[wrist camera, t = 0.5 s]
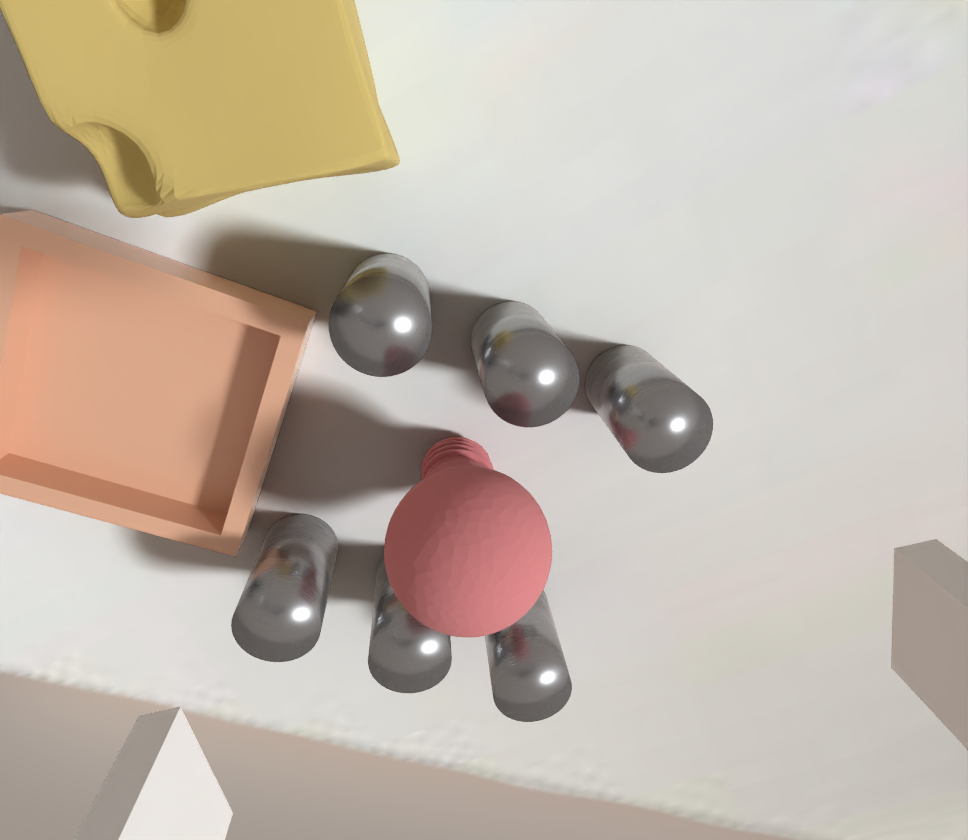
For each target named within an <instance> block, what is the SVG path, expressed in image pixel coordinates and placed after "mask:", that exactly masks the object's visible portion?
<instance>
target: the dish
mask: <svg viewBox="0 0 968 840" xmlns="http://www.w3.org/2000/svg"><path fill="white" fill-rule="evenodd" d="M316 313H317V311H314V310H311V309H309V308H306V307H303V306H300V305H297V304H295V303H292V302H289V301H286V300H283V299H281V298H278V297H275V296H272V295H269V294H267V293H264V292H261V291H258V290H256V289H253V288H250V287H247V286H244V285H242V284H239V283H236V282H233V281H230V280H228V279H225V278H222V277H219V276H216V275H214V274H211V273H208V272H205V271H202V270H200V269H197V268H194V267H191V266H188V265H186V264H183V263H180V262H177V261H174V260H172V259H169V258H166V257H163V256H160V255H158V254H155V253H152V252H149V251H146V250H144V249H141V248H138V247H135V246H132V245H130V244H127V243H124V242H121V241H119V240H116V239H113V238H110V237H107V236H105V235H102V234H99V233H96V232H93V231H91V230H88V229H85V228H82V227H79V226H77V225H74V224H71V223H68V222H65V221H63V220H60V219H57V218H54V217H51V216H49V215H46V214H43V213H40V212H37V211H35V210H27V211H19V212H10V213H1V214H0V493H1V494H4V495H8V496H12V497H16V498H19V499H23V500H27V501H30V502H34V503H38V504H42V505H45V506H49V507H53V508H56V509H60V510H64V511H68V512H71V513H75V514H79V515H82V516H86V517H90V518H94V519H97V520H101V521H105V522H108V523H112V524H116V525H120V526H123V527H127V528H131V529H134V530H138V531H142V532H146V533H149V534H153V535H157V536H160V537H164V538H168V539H172V540H175V541H179V542H183V543H186V544H190V545H194V546H198V547H201V548H205V549H209V550H212V551H216V552H220V553H224V554H227V555H231V556H235V557H236V556H237V553H238V551H239V549H240V547H241V545H242V543H243V541H244V538H245V536H246V534H247V532H248V530H249V526H250V523H251V520H252V517H253V514H254V511H255V507H256V504H257V501H258V498H259V495H260V491H261V488H262V485H263V482H264V479H265V476H266V472H267V469H268V466H269V463H270V460H271V456H272V453H273V450H274V447H275V444H276V440H277V437H278V434H279V431H280V428H281V425H282V421H283V418H284V415H285V412H286V409H287V405H288V402H289V399H290V396H291V393H292V390H293V386H294V383H295V380H296V377H297V374H298V370H299V367H300V364H301V361H302V358H303V354H304V351H305V348H306V345H307V342H308V339H309V335H310V332H311V329H312V326H313V323H314V319H315V316H316Z"/></svg>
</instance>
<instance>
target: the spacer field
mask: <svg viewBox="0 0 968 840" xmlns="http://www.w3.org/2000/svg"><path fill="white" fill-rule="evenodd" d="M329 333H330V338H331V341H332V344H333V346H334V348H335V350H336V351H337V353H338V354H339V356H340V357H341V358H342V359H343V360H344V361H345V362H346V363H347V364H348V365H349V366H351V367H352V368H354V369H355V370H357V371H359V372H361V373H364V374H367V375H371V376H377V377H387V376H393V375H397V374H400V373H403V372H405V371H407V370H409V369H410V368H412V367H413V366H414V365H415V364H417V363H418V362H419V361H420V359H421V358H422V357H423V356H424V354H425V352H426V351H427V349H428V346H429V344H430V340H431V335H432V319H431V306H430V293H429V286H428V283H427V280H426V278H425V276H424V274H423V273H422V271H421V270H420V268H419V267H418V266H417V265H416V264H414V263H413V262H412V261H410V260H409V259H407V258H405V257H403V256H400V255H397V254H390V253H384V254H378V255H374V256H371V257H369V258H367V259H365V260H364V261H363V262H361V263H360V264H359V265H358V266H357V267H356V269H355V270H354V271H353V273H352V275H351V276H350V278H349V279H348V281H347V283H346V284H345V286H344V287H343V289H342V291H341V292H340V294H339V295H338V297H337V299H336V300H335V302H334V304H333V306H332V309H331V312H330V316H329ZM471 345H472V351H473V354H474V358H475V361H476V365H477V368H478V372H479V375H480V379H481V383H482V386H483V390H484V393H485V397H486V399H487V402H488V404H489V405H490V407H491V409H492V410H493V411H494V412H495V413H496V414H497V415H498V416H499V417H500V418H501V419H503V420H504V421H506V422H508V423H510V424H513V425H516V426H521V427H538V426H542V425H545V424H548V423H550V422H552V421H554V420H556V419H557V418H559V417H560V416H561V415H563V414H564V413H565V412H566V411H567V410H568V408H569V407H570V406H571V404H572V403H573V401H574V399H575V397H576V395H577V392H578V388H579V369H578V366H577V362H576V360H575V358H574V356H573V355H572V353H571V352H570V351H569V350H568V348H567V347H566V346H565V345H564V343H563V342H562V341H561V340H560V338H559V337H558V336H557V335H556V333H555V332H554V331H553V330H552V328H551V327H550V326H549V325H548V323H547V322H546V321H545V320H544V318H543V317H542V316H541V315H540V314H539V313H538V312H537V311H536V310H535V309H534V308H532V307H531V306H529V305H527V304H524V303H521V302H516V301H508V302H502V303H498V304H496V305H494V306H492V307H490V308H489V309H487V310H486V311H485V312H484V313H482V315H481V316H480V317H479V318H478V320H477V321H476V323H475V325H474V328H473V331H472V336H471ZM585 390H586V395H587V397H588V400H589V401H590V403H591V404H592V406H593V407H594V409H595V410H596V411H597V413H598V414H599V416H600V417H601V418H602V420H603V421H604V423H605V424H606V425H607V427H608V428H609V430H610V431H611V432H612V434H613V435H614V437H615V438H616V439H617V441H618V442H619V443H620V445H621V446H622V448H623V449H624V450H625V452H626V453H627V455H628V456H629V457H630V459H631V460H632V461H633V462H634V463H635V464H636V465H638V466H639V467H641V468H642V469H645V470H647V471H651V472H656V473H668V472H673V471H677V470H680V469H682V468H684V467H686V466H688V465H689V464H691V463H692V462H694V461H695V460H696V459H697V458H698V457H699V456H700V455H701V454H702V453H703V451H704V450H705V448H706V447H707V445H708V443H709V441H710V438H711V435H712V430H713V418H712V414H711V411H710V408H709V407H708V405H707V403H706V402H705V401H704V400H703V399H702V398H701V397H700V396H699V395H698V394H697V393H695V392H694V391H693V390H692V389H691V388H689V387H688V386H687V385H686V384H685V383H683V382H682V381H681V380H680V379H679V378H677V377H676V376H675V375H674V374H672V373H671V372H670V371H669V370H668V369H666V368H665V367H664V366H663V365H662V364H660V363H659V362H658V361H657V360H655V359H654V358H653V357H652V356H651V355H649V354H648V353H647V352H646V351H644V350H643V349H640V348H638V347H635V346H630V345H622V346H616V347H613V348H610V349H608V350H606V351H605V352H603V353H602V354H600V355H599V356H598V357H597V358H596V359H595V360H594V361H593V363H592V364H591V366H590V368H589V369H588V372H587V375H586V379H585ZM337 552H338V541H337V537H336V535H335V533H334V531H333V530H332V528H331V527H330V526H329V525H328V524H327V523H325V522H324V521H322V520H321V519H319V518H317V517H314V516H311V515H305V514H295V515H290V516H286V517H284V518H282V519H280V520H278V521H277V522H275V523H274V524H273V525H272V526H271V528H270V529H269V531H268V533H267V535H266V538H265V540H264V542H263V545H262V547H261V550H260V552H259V554H258V557H257V559H256V562H255V564H254V566H253V569H252V571H251V574H250V576H249V578H248V581H247V583H246V586H245V588H244V591H243V593H242V595H241V598H240V600H239V603H238V605H237V607H236V610H235V612H234V615H233V618H232V624H231V626H232V633H233V636H234V638H235V640H236V642H237V643H238V644H239V646H240V647H241V648H242V649H243V650H244V651H246V652H247V653H249V654H250V655H252V656H254V657H256V658H258V659H261V660H265V661H270V662H285V661H290V660H294V659H297V658H299V657H301V656H303V655H305V654H306V653H308V652H309V651H310V650H311V649H312V648H313V647H314V646H315V644H316V643H317V641H318V639H319V636H320V632H321V627H322V622H323V618H324V613H325V608H326V603H327V599H328V594H329V589H330V585H331V580H332V575H333V571H334V566H335V561H336V557H337ZM485 641H486V648H487V655H488V662H489V670H490V677H491V684H492V691H493V699H494V702H495V704H496V706H497V708H498V709H499V710H500V711H501V712H502V713H503V714H504V715H505V716H507V717H509V718H511V719H514V720H517V721H523V722H533V721H539V720H543V719H546V718H548V717H550V716H552V715H554V714H556V713H557V712H558V711H560V710H561V709H562V708H563V707H564V706H565V704H566V703H567V701H568V700H569V697H570V695H571V690H572V684H571V679H570V676H569V673H568V669H567V666H566V662H565V659H564V655H563V652H562V649H561V645H560V642H559V638H558V635H557V632H556V628H555V625H554V621H553V618H552V614H551V611H550V608H549V604H548V601H547V597H546V594H545V592H544V590H543V591H542V593H541V595H540V596H539V598H538V599H537V601H536V603H535V604H534V605H533V606H532V608H531V609H530V610H529V611H528V612H527V613H526V614H525V615H524V616H523V617H521V618H520V619H519V620H518V621H516V622H515V623H514V624H512V625H510V626H509V627H507V628H505V629H503V630H501V631H498V632H496V633H493V634H489V635H486V636H485ZM451 659H452V657H451V641H450V635H446V634H443V633H440V632H437V631H435V630H433V629H431V628H429V627H427V626H425V625H423V624H422V623H421V622H419V621H418V620H416V619H415V618H414V617H413V616H412V615H411V614H410V613H409V612H408V611H407V610H406V609H405V608H404V606H403V605H402V604H401V602H400V601H399V600H398V598H397V597H396V595H395V593H394V591H393V589H392V587H391V585H390V582H389V579H388V576H387V571H386V566H385V559H383V561H382V562H381V564H380V566H379V568H378V572H377V580H376V590H375V599H374V609H373V618H372V628H371V637H370V647H369V656H368V665H369V669H370V672H371V674H372V676H373V677H374V679H375V680H376V681H377V682H378V683H379V684H381V685H382V686H384V687H385V688H387V689H390V690H392V691H395V692H400V693H416V692H421V691H424V690H427V689H430V688H432V687H433V686H435V685H437V684H438V683H439V682H440V681H441V680H442V679H443V678H444V677H445V676H446V675H447V673H448V671H449V669H450V666H451Z"/></svg>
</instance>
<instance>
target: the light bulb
mask: <svg viewBox="0 0 968 840" xmlns="http://www.w3.org/2000/svg"><path fill="white" fill-rule="evenodd" d="M384 559H385V566H386V571H387V576H388V579H389V582H390V585H391V587H392V589H393V591H394V593H395V595H396V597H397V598H398V600H399V601H400V602H401V604H402V605H403V606H404V608H405V609H406V610H407V611H408V612H409V613H410V614H411V615H412V616H413V617H414V618H415V619H416V620H418V621H419V622H421V623H422V624H423V625H425V626H427V627H429V628H431V629H433V630H435V631H437V632H440V633H443V634H446V635H450V636H456V637H480V636H486V635H489V634H493V633H496V632H498V631H501V630H503V629H505V628H507V627H509V626H510V625H512V624H514V623H515V622H516V621H518V620H519V619H520V618H521V617H523V616H524V615H525V614H526V613H527V612H528V611H529V610H530V609H531V608H532V606H533V605H534V604H535V603H536V601H537V599H538V598H539V596H540V595H541V593H542V591H543V589H544V587H545V584H546V582H547V579H548V576H549V571H550V567H551V561H552V544H551V535H550V531H549V528H548V524H547V521H546V518H545V516H544V514H543V512H542V510H541V508H540V506H539V505H538V503H537V502H536V500H535V499H534V498H533V497H532V495H531V494H530V493H529V492H528V491H527V490H526V489H525V488H524V487H523V486H521V485H520V484H519V483H518V482H516V481H515V480H513V479H512V478H510V477H509V476H507V475H505V474H503V473H500V472H498V471H495V470H493V466H492V463H491V462H490V459H489V456H488V454H487V452H486V451H485V450H484V449H483V447H482V446H480V445H479V444H478V443H476V442H474V441H471V440H469V439H466V438H461V437H452V438H447V439H443V440H441V441H439V442H437V443H435V444H434V445H433V446H432V447H431V448H430V449H429V450H428V451H427V453H426V455H425V457H424V459H423V462H422V467H421V481H420V482H419V483H418V484H416V485H415V486H414V487H413V488H412V489H411V490H410V491H409V492H408V493H407V494H406V495H405V496H404V498H403V499H402V500H401V501H400V503H399V505H398V506H397V508H396V509H395V511H394V513H393V515H392V517H391V520H390V522H389V525H388V529H387V533H386V537H385V546H384Z"/></svg>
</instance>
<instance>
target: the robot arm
mask: <svg viewBox="0 0 968 840" xmlns="http://www.w3.org/2000/svg"><path fill="white" fill-rule="evenodd" d="M891 668H892V669H893V670H894V671H895V672H896V673H897V674H898V675H899V676H900V677H901V679H902V680H903V681H904V682H905V683H906V684H907V685H908V686H909V687H910V688H911V689H912V690H913V691H914V693H915V694H916V695H917V696H918V697H919V698H920V699H921V700H922V701H923V702H924V703H925V704H926V705H927V707H928V708H929V709H930V710H931V711H932V712H933V713H934V714H935V715H936V716H937V717H938V718H939V719H940V721H941V722H942V723H943V724H944V725H945V726H946V727H947V728H948V729H949V730H950V731H951V732H952V733H953V735H954V736H955V737H956V738H957V739H958V740H959V741H960V742H961V743H962V744H963V745H964V746H965V747H966V749H967V750H968V562H967V561H965V560H964V559H963V558H961V557H960V556H959V555H957V554H956V553H954V552H953V551H952V550H950V549H949V548H948V547H946V546H945V545H943V544H942V543H941V542H939V541H938V540H937V539H935V540H930V541H926V542H921V543H917V544H912V545H908V546H903V547H899V548H894V581H893V617H892V654H891ZM232 814H233V812H232V810H231V808H230V806H229V804H228V802H227V800H226V798H225V796H224V794H223V792H222V790H221V788H220V786H219V784H218V782H217V780H216V778H215V776H214V774H213V772H212V770H211V768H210V766H209V764H208V762H207V760H206V758H205V756H204V754H203V752H202V750H201V748H200V746H199V744H198V742H197V739H196V737H195V735H194V733H193V732H192V729H191V727H190V725H189V723H188V721H187V719H186V717H185V715H184V713H183V711H182V709H181V707H177V708H173V709H168V710H164V711H159V712H155V713H150V714H146V715H141V716H139V717H138V719H137V720H136V722H135V724H134V726H133V728H132V730H131V732H130V734H129V735H128V737H127V739H126V741H125V743H124V745H123V747H122V748H121V750H120V752H119V754H118V756H117V758H116V760H115V762H114V763H113V765H112V767H111V769H110V771H109V773H108V775H107V776H106V779H105V780H104V782H103V784H102V786H101V788H100V790H99V792H98V793H97V795H96V797H95V799H94V801H93V803H92V805H91V806H90V808H89V810H88V812H87V814H86V816H85V818H84V819H83V821H82V824H81V825H80V827H79V829H78V831H77V833H76V834H75V837H74V838H73V840H225V837H226V834H227V831H228V827H229V824H230V821H231V818H232Z"/></svg>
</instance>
